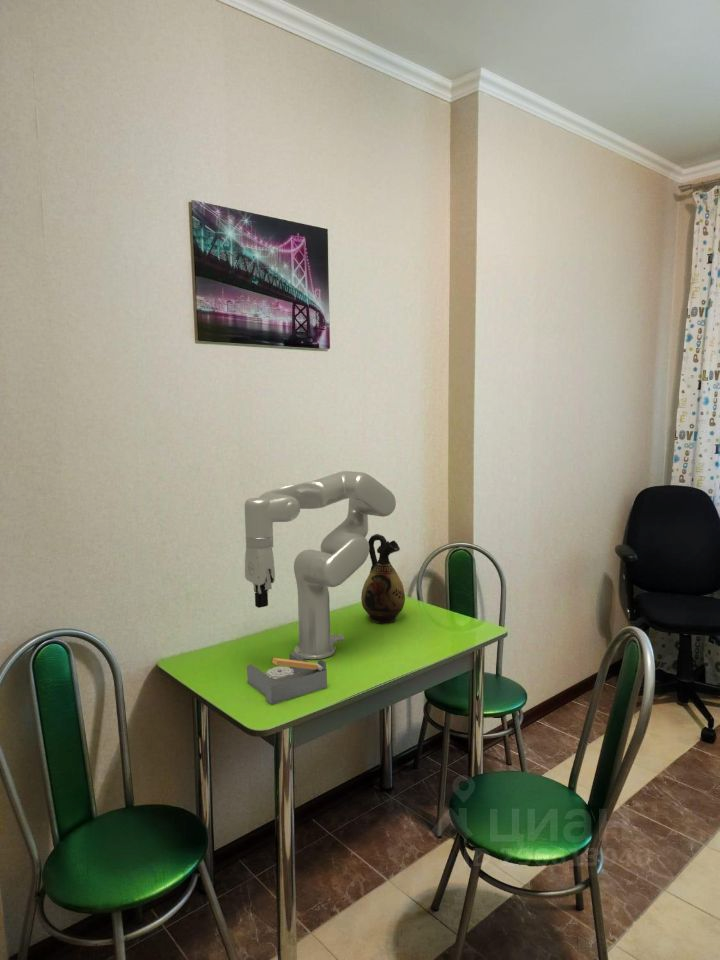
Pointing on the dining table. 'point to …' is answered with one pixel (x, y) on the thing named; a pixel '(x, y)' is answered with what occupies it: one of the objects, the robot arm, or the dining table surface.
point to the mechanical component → (279, 672)
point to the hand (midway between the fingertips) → (261, 606)
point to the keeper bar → (296, 664)
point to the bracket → (288, 681)
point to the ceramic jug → (382, 584)
